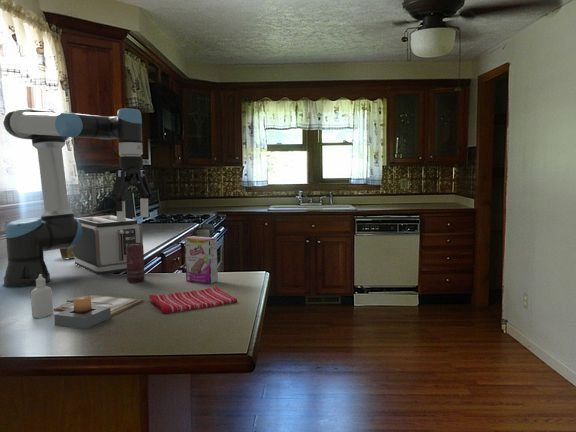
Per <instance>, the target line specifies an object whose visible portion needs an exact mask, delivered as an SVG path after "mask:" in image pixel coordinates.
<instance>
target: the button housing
mask: <svg viewBox="0 0 576 432" xmlns="http://www.w3.org/2000/svg"><path fill="white" fill-rule="evenodd" d="M111 317H112V316H111V311H110V307H102V306H92V305H91V309H90V310H87V311H74V307H73V308H70V309H68V310H65V311H59V312H58V313H55V314H54V313H53V318H54V319H53V320H54V326H55V327H63V328H73V329H81V330H87V329H89V328H91V327H93V326H96V325H98V324H100V323H102V322H105V321H106V320H109V319H111Z"/></svg>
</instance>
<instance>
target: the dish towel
mask: <svg viewBox="0 0 576 432" xmlns="http://www.w3.org/2000/svg"><path fill="white" fill-rule="evenodd" d="M148 299H149V300H150V302H152V304H153V305H154V306H155V307H156V309H158V310H159V312H160V313H161V314H163V315H165V314H172V313H180V312H187V311H192V310H193V311H194V310H199V309H200V308H201V309H206V308H207V307H208V308H213V307H214V306H215V307H220V305H221V306H225V304H227V305H231V303H232V304H236V303H238V298H236V297H233V296H232V295H230V294H228V293H226V291H224V290H223V291H222V289H220V288H219V287H218V286H211V287H208V288H205V289H204V288H203V289H198V290H197V289H196V290H191V291H182V292H181V291H180V292H172V293H168V294H155V295H154V294H149V297H148ZM215 307H214V308H215ZM208 308H207V309H208Z"/></svg>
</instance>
